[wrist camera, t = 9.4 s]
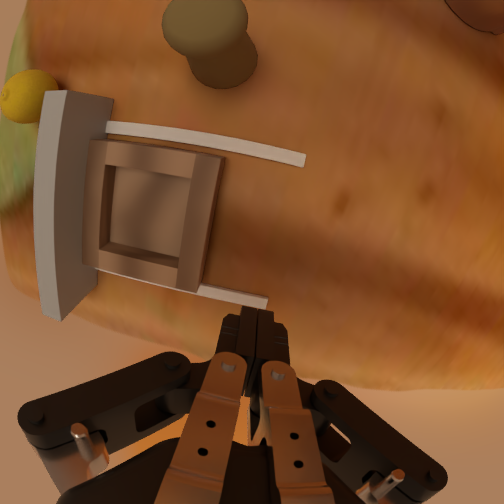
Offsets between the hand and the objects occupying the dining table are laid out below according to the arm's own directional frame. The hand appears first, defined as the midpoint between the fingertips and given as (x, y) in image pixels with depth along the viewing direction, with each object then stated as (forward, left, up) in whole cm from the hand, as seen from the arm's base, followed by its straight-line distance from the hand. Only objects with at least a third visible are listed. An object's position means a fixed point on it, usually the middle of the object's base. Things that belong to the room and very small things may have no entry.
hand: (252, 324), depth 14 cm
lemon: (+24, -10, -15) cm, 31 cm away
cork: (+6, -15, -15) cm, 22 cm away
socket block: (+10, 0, -15) cm, 18 cm away
